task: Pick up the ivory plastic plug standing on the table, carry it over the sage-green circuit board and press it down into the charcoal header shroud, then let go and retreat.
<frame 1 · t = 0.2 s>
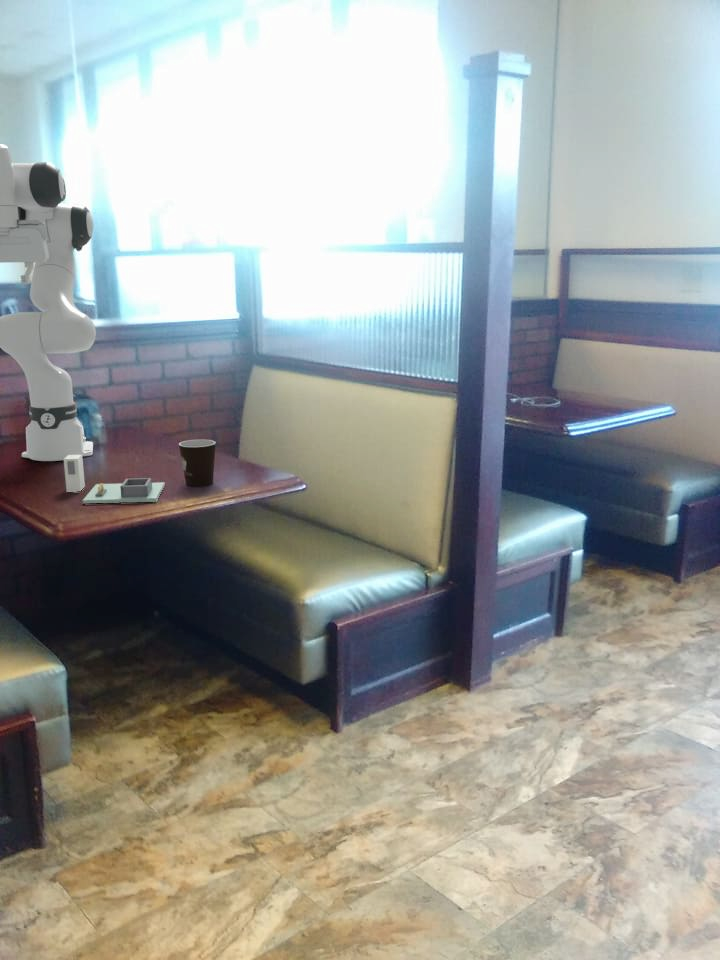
hand: (4, 283, 198), 47 cm above the table, fingers open, 8 cm apart
coffee mug: (200, 483, 211), on the table
plug: (76, 490, 205), on the table
board: (125, 495, 200), on the table
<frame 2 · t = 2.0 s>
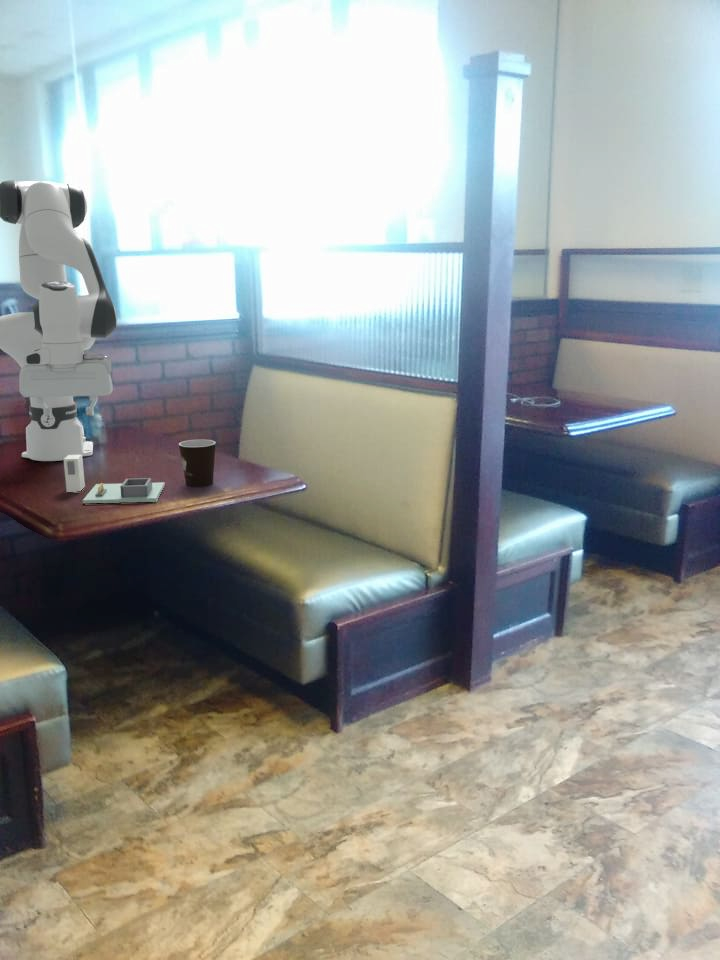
hand: (69, 415, 201), 18 cm above the table, fingers open, 8 cm apart
nothing on the table moved.
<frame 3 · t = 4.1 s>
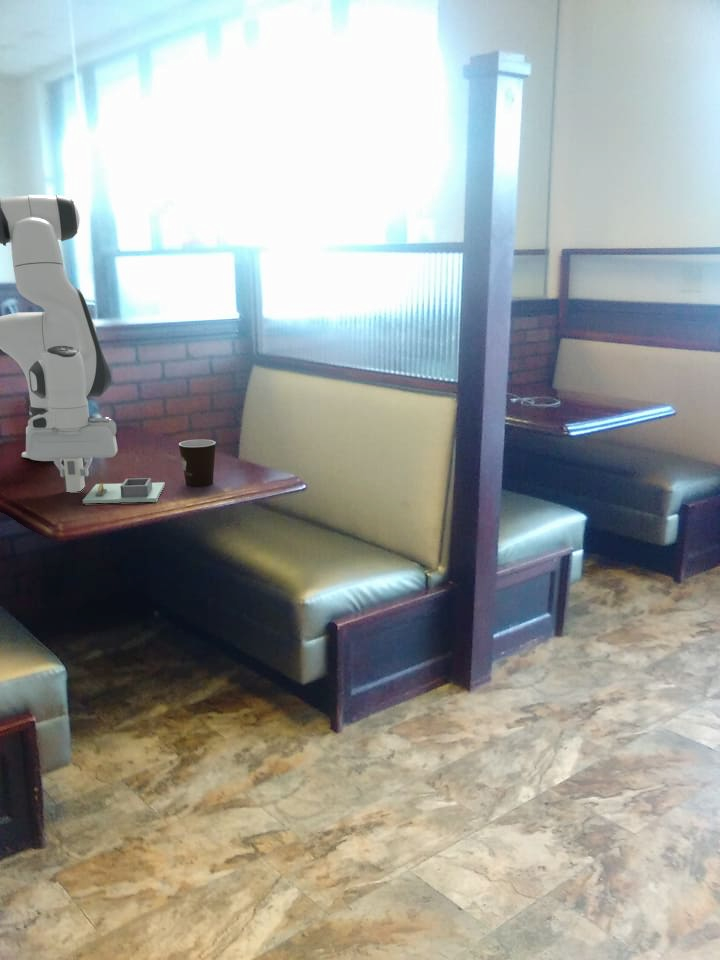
hand: (74, 476, 204), 3 cm above the table, fingers closed on plug, 3 cm apart
plug: (76, 489, 205), on the table, touching gripper
everything else where it was.
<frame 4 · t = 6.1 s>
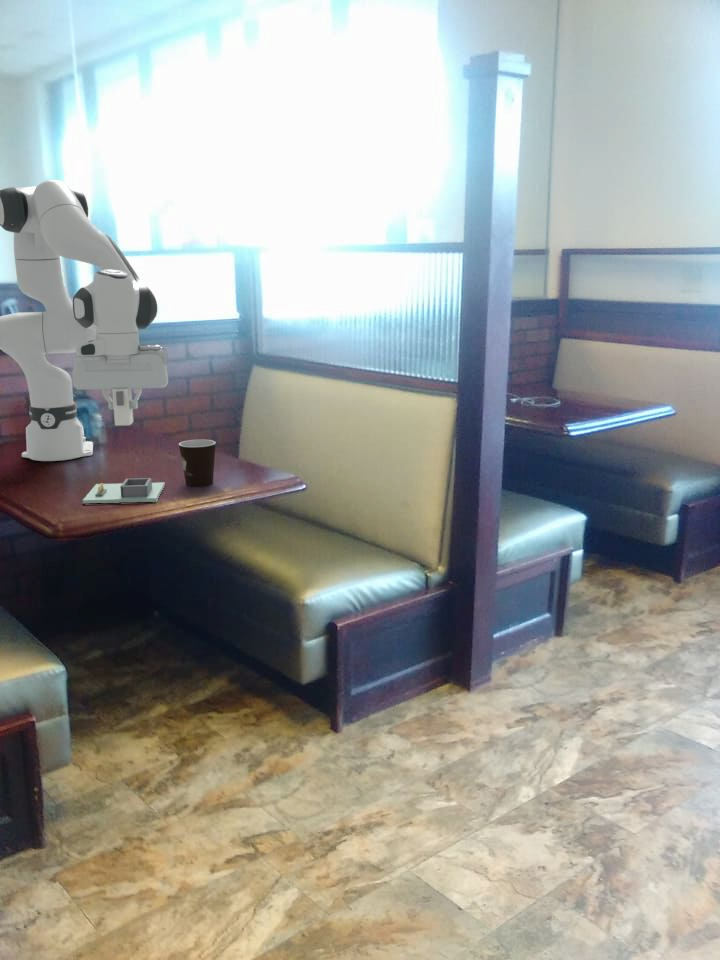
hand: (123, 408, 194), 20 cm above the table, fingers closed on plug, 3 cm apart
plug: (124, 423, 194), point 17 cm above the table, touching gripper
everything else where it was.
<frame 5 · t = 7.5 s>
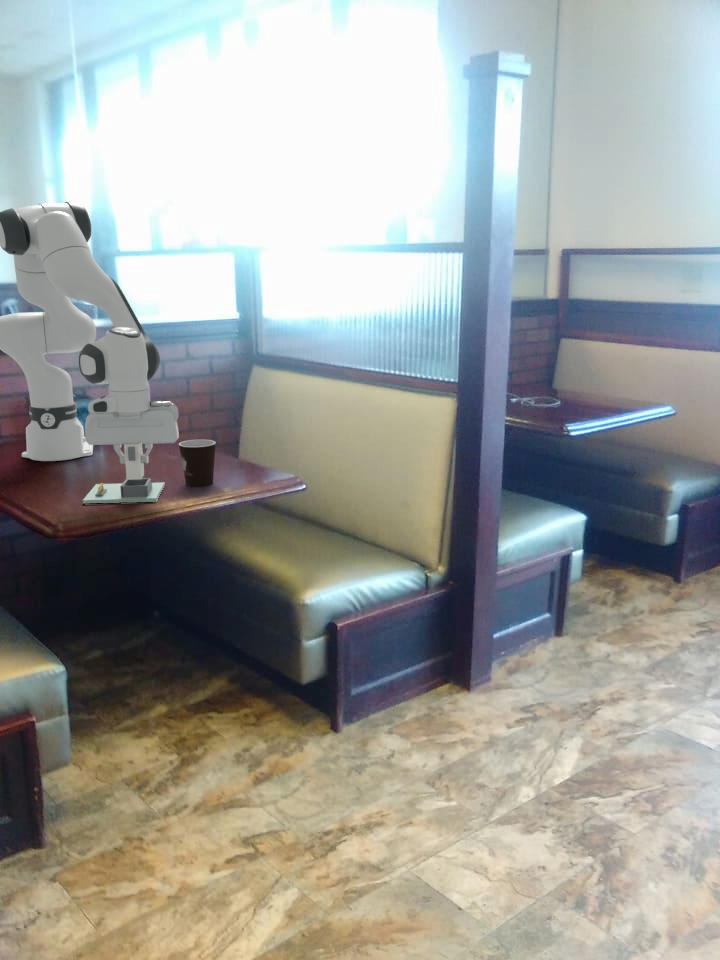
hand: (134, 462, 197), 8 cm above the table, fingers closed on plug, 3 cm apart
plug: (135, 477, 197), point 5 cm above the table, touching gripper
everything else where it was.
when the fingers open (5 cm above the table, at t = 8.4 s): plug stays where it is, resting on board.
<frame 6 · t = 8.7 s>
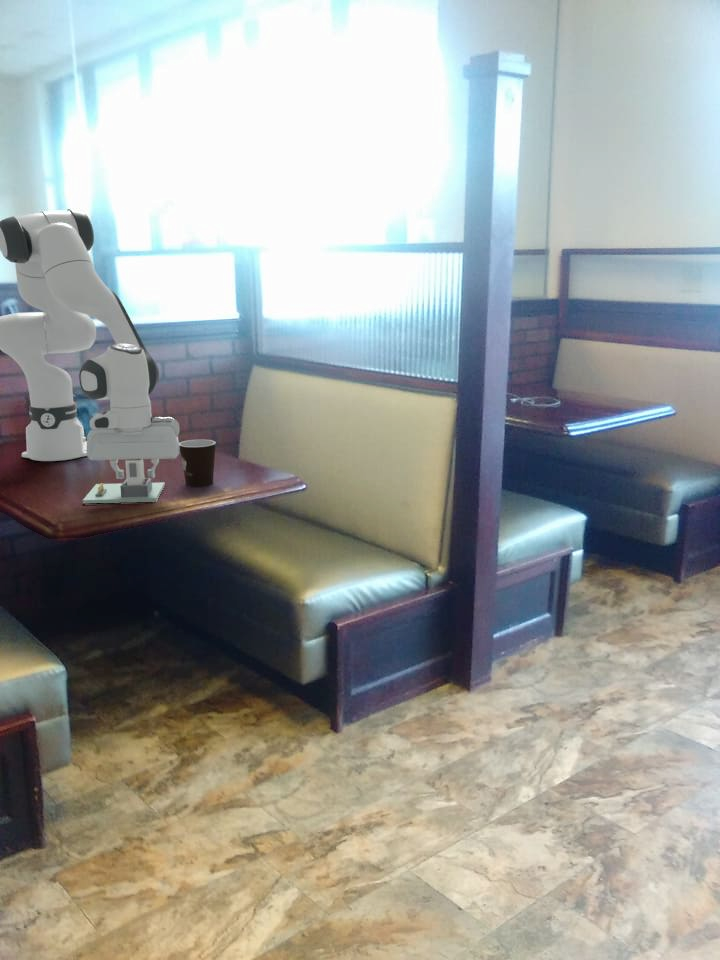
hand: (135, 477, 197), 4 cm above the table, fingers open, 5 cm apart
plug: (136, 492, 198), point 1 cm above the table, touching board
everything else where it was.
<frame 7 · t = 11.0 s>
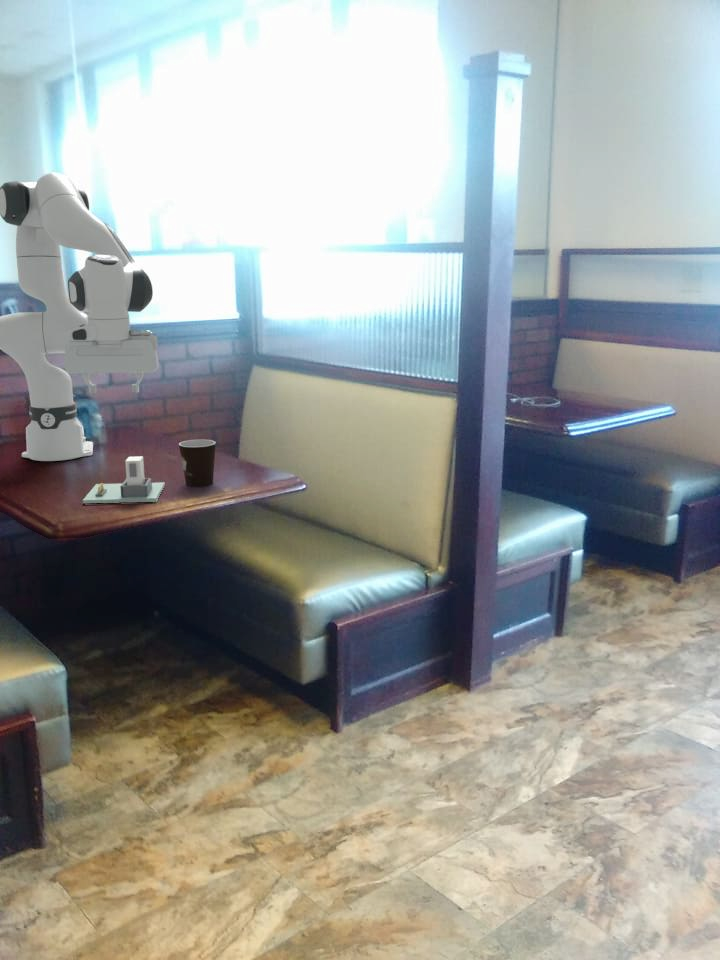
hand: (114, 392, 197), 23 cm above the table, fingers open, 8 cm apart
nothing on the table moved.
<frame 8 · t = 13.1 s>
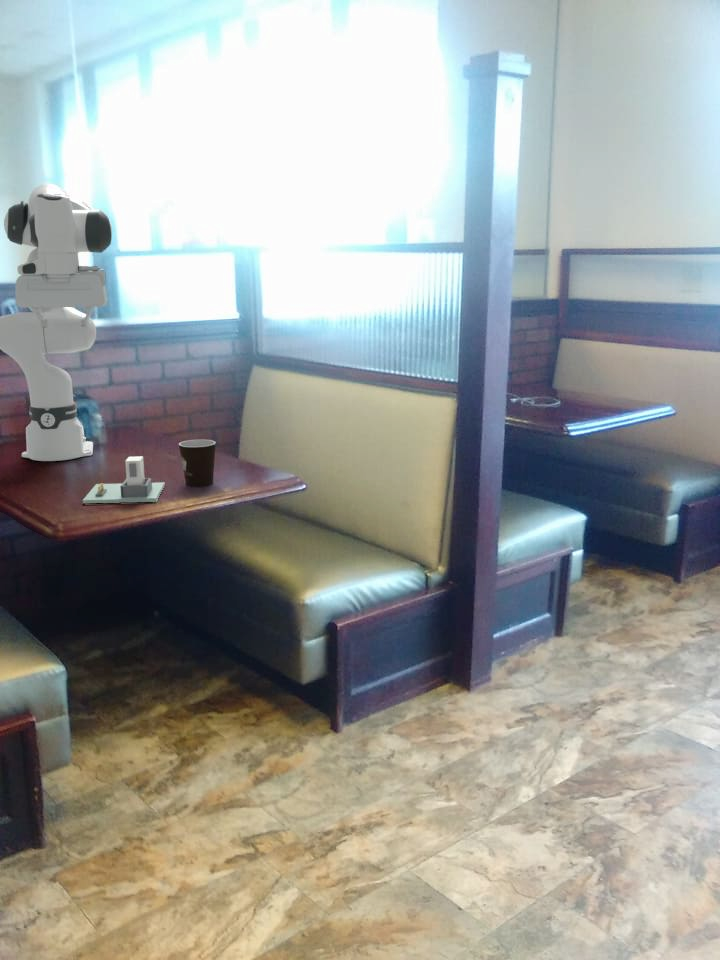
hand: (64, 327, 204), 37 cm above the table, fingers open, 8 cm apart
nothing on the table moved.
at the end: plug 0.1 cm from the target spot on the board, point 1.0 cm above the board's base; plug tilted 0°; the gripper is holding nothing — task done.
